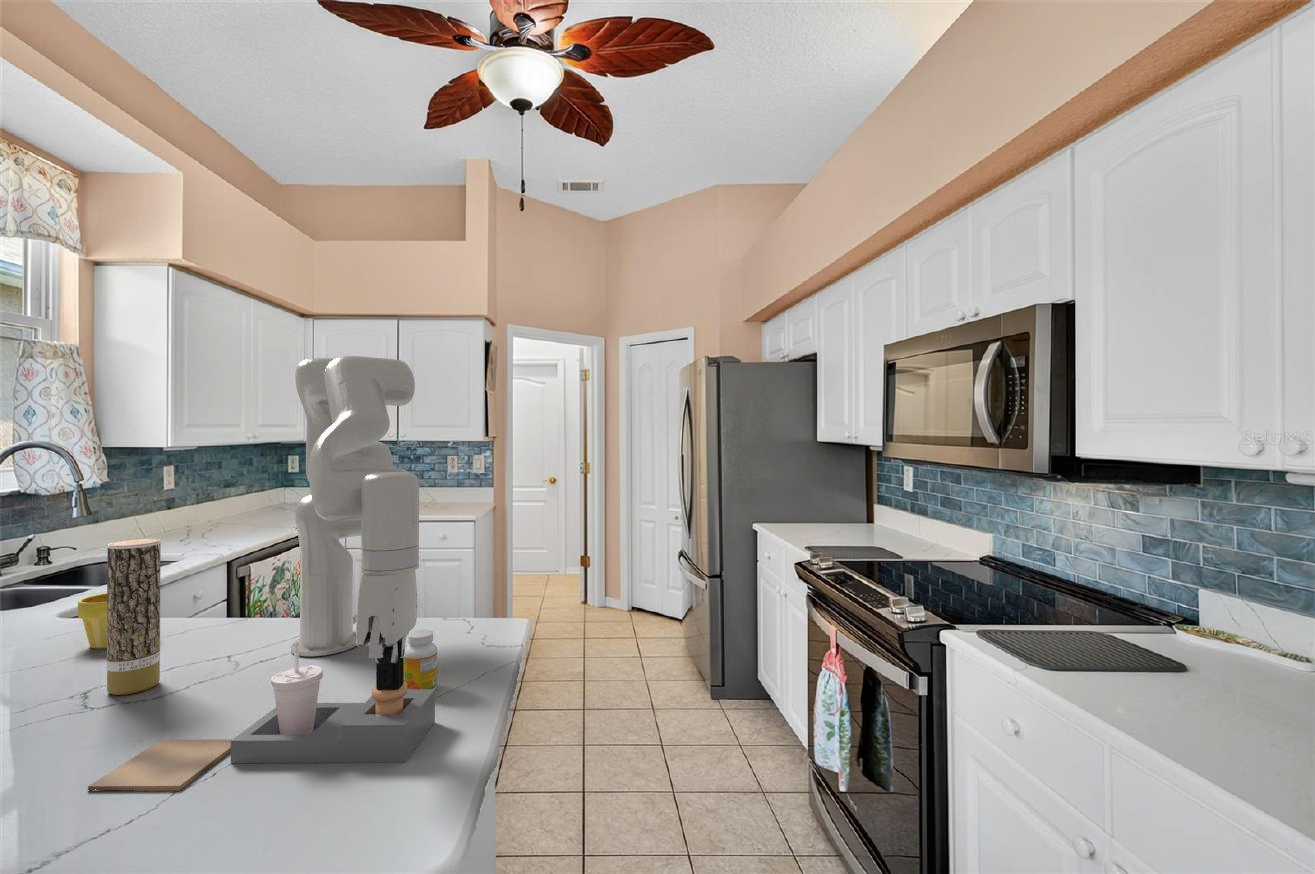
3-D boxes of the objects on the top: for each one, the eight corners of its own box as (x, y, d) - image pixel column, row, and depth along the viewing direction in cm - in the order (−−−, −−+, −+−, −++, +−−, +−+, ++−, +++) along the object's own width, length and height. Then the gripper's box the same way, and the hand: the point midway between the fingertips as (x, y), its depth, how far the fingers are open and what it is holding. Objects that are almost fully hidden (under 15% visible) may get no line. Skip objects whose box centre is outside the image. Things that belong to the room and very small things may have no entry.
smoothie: (315, 725, 88) (316, 632, 88) (328, 741, 84) (329, 643, 84) (265, 741, 84) (265, 642, 84) (276, 758, 79) (276, 655, 79)
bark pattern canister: (170, 679, 104) (170, 538, 104) (137, 696, 98) (138, 545, 98) (130, 679, 104) (131, 538, 104) (95, 697, 97) (95, 545, 97)
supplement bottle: (397, 690, 101) (398, 633, 101) (428, 680, 105) (428, 626, 105) (411, 699, 97) (412, 640, 97) (442, 689, 101) (443, 633, 101)
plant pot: (137, 631, 130) (137, 587, 130) (152, 641, 124) (152, 594, 124) (72, 644, 121) (72, 597, 121) (84, 656, 115) (84, 606, 115)
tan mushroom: (380, 728, 86) (380, 680, 86) (412, 728, 87) (412, 680, 86) (365, 744, 82) (365, 694, 82) (398, 744, 82) (399, 694, 82)
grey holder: (281, 722, 89) (281, 689, 89) (434, 722, 90) (435, 689, 90) (230, 763, 78) (230, 725, 78) (405, 762, 79) (405, 724, 79)
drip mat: (161, 743, 83) (161, 739, 83) (241, 743, 83) (241, 739, 83) (87, 791, 72) (87, 786, 72) (179, 790, 72) (179, 785, 72)
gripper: (386, 549, 91) (386, 667, 91) (336, 570, 76) (335, 712, 76) (435, 549, 92) (435, 667, 92) (395, 570, 77) (394, 712, 77)
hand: (390, 687), depth 84 cm, fingers closed
